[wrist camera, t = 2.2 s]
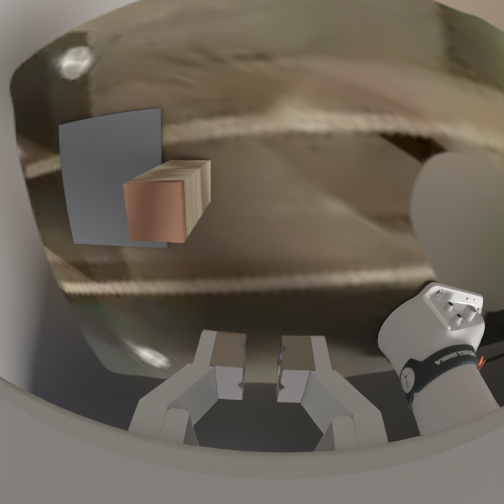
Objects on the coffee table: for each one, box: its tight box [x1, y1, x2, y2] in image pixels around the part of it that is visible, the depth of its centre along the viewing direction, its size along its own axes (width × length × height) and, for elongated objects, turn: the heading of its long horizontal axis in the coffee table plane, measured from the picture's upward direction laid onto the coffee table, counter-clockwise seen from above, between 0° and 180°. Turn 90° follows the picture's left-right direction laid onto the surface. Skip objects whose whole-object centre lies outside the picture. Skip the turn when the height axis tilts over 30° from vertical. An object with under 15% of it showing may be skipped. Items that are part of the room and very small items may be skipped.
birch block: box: [123, 160, 211, 243], centre depth 27 cm, size 5×5×12 cm
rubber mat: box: [59, 108, 168, 249], centre depth 32 cm, size 16×18×1 cm
